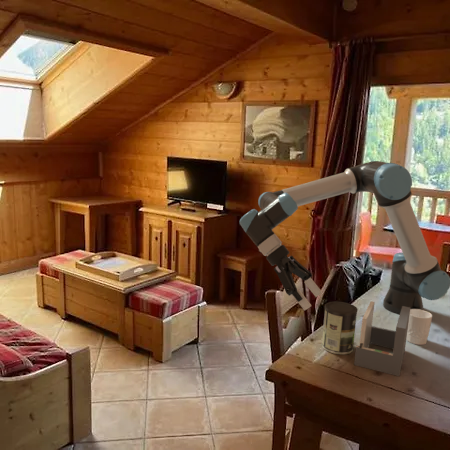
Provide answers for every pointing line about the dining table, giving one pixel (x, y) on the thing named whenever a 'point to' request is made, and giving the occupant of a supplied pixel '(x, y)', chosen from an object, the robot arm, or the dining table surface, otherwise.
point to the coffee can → (339, 327)
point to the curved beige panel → (367, 326)
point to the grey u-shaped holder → (386, 339)
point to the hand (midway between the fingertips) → (314, 301)
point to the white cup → (418, 326)
